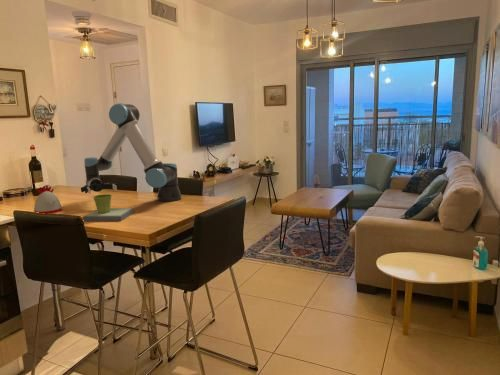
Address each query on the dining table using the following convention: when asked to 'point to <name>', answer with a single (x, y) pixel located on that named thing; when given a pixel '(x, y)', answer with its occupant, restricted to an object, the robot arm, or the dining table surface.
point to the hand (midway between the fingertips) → (103, 189)
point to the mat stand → (110, 215)
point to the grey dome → (47, 202)
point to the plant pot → (103, 202)
